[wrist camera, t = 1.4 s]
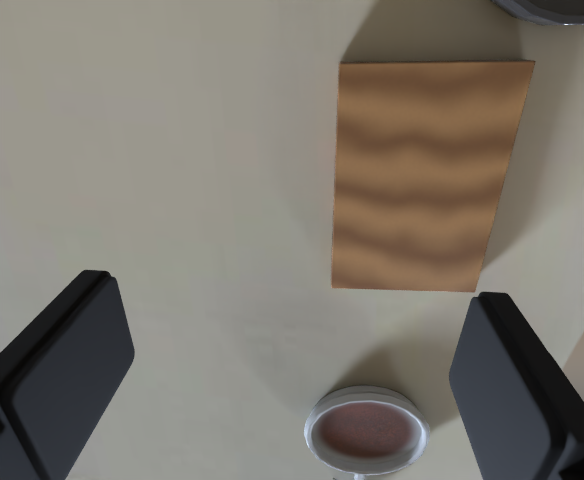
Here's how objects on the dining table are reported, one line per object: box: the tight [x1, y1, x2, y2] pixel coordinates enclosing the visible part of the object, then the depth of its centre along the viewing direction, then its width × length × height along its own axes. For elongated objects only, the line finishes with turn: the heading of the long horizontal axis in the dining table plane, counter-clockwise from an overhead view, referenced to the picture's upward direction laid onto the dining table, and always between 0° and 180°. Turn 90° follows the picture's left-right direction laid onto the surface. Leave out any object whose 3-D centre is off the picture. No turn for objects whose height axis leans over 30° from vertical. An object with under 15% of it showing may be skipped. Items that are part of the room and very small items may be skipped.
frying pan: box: [304, 385, 429, 480], centre depth 56 cm, size 17×3×28 cm
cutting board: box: [331, 59, 535, 292], centre depth 36 cm, size 22×15×2 cm
